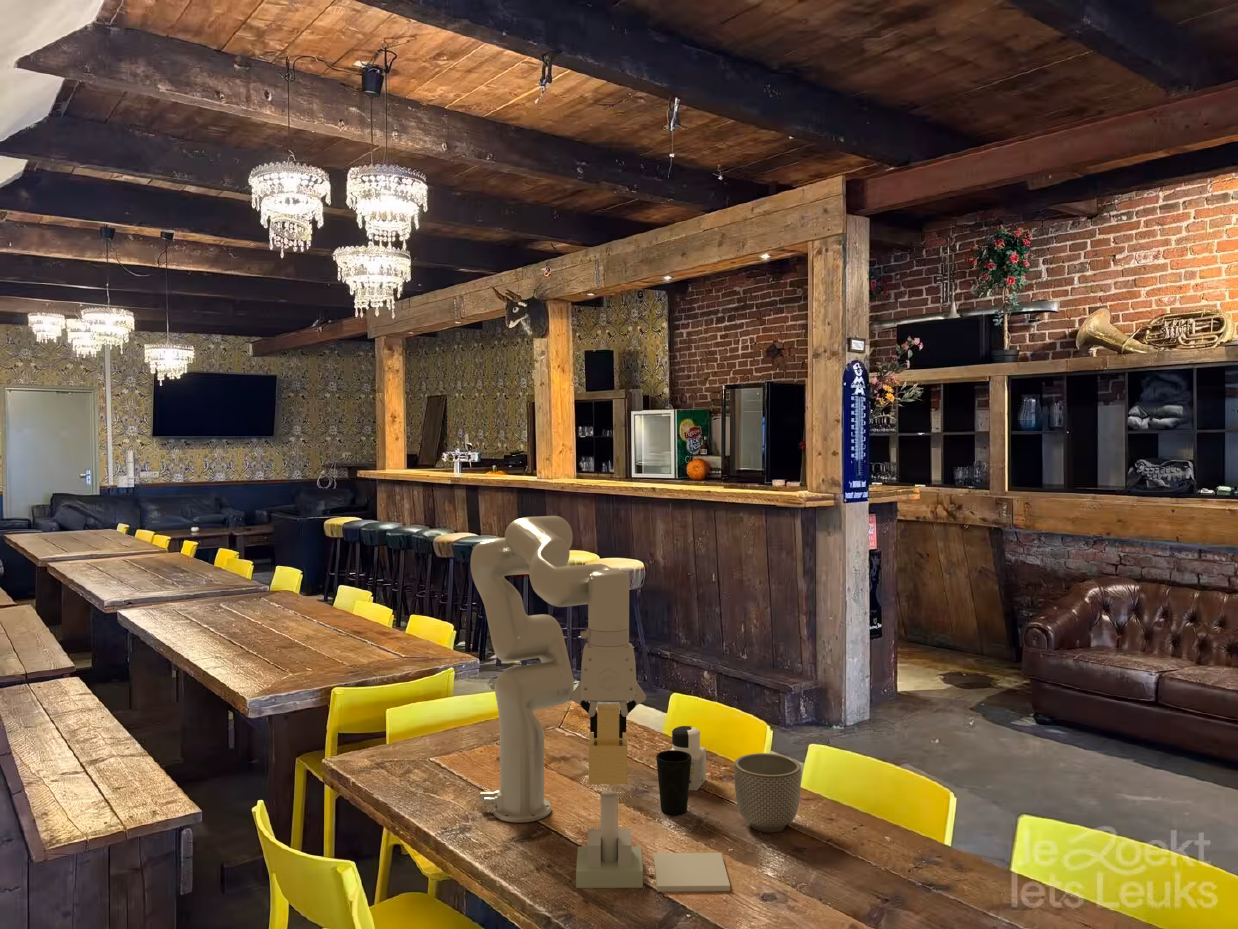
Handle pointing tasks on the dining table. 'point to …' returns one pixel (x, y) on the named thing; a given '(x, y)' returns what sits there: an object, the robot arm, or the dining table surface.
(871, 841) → the dining table surface
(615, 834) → the vise
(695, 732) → the container
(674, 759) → the cup
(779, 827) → the planter
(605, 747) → the stepped wooden tower
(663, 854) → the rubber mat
